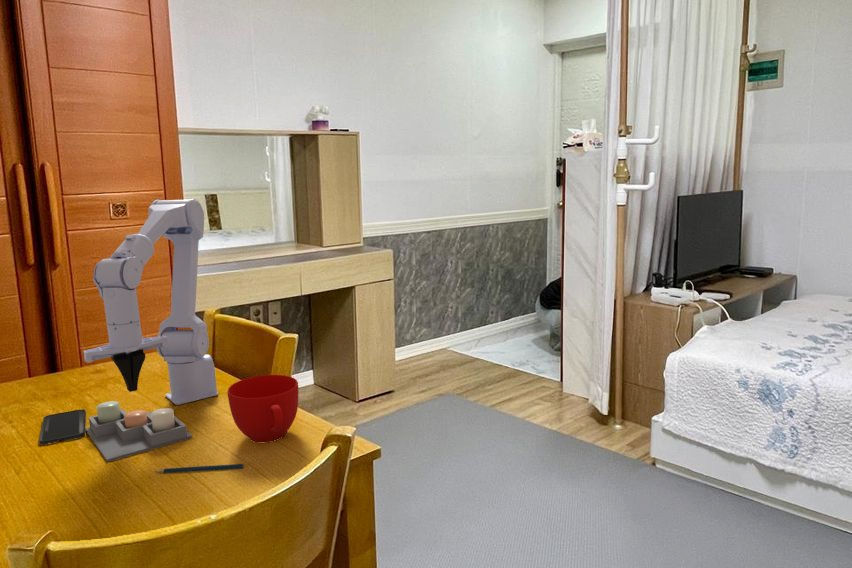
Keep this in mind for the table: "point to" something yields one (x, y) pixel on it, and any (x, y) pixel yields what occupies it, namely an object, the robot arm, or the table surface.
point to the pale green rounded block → (108, 412)
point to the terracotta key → (135, 418)
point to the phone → (63, 426)
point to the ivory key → (162, 419)
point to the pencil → (201, 468)
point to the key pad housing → (132, 437)
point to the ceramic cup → (264, 406)
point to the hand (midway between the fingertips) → (132, 389)
